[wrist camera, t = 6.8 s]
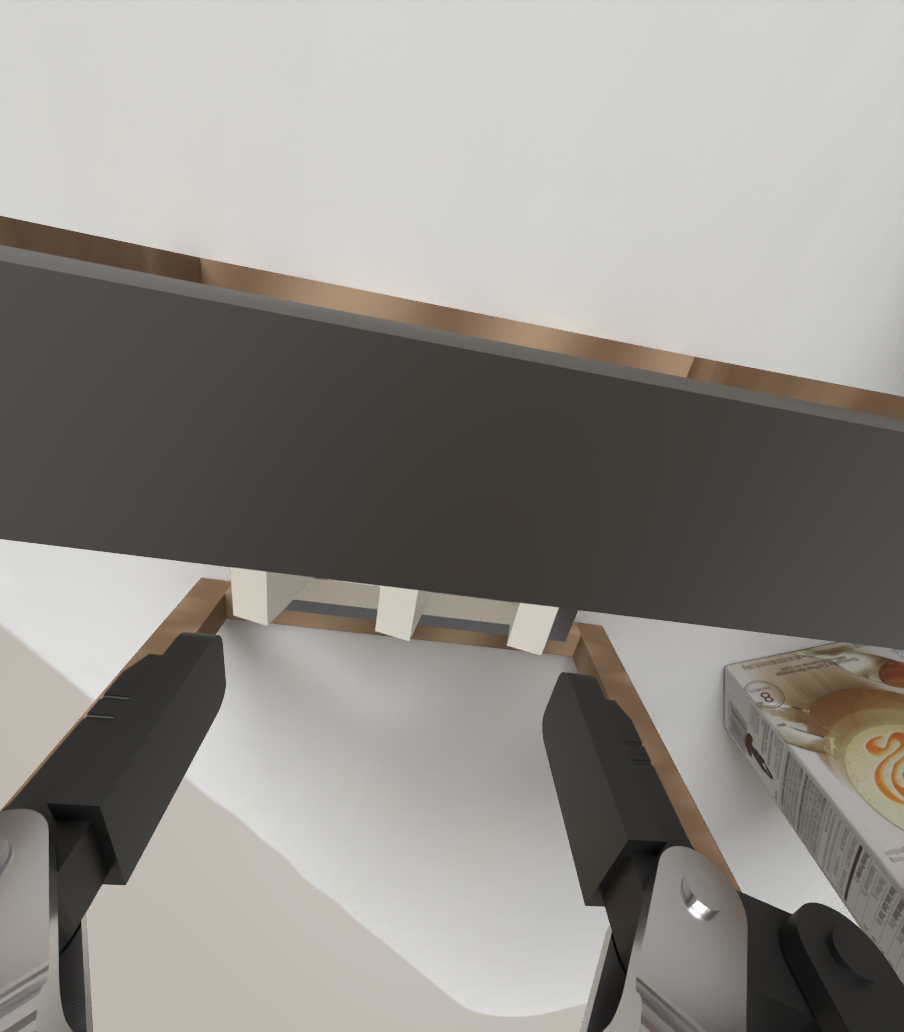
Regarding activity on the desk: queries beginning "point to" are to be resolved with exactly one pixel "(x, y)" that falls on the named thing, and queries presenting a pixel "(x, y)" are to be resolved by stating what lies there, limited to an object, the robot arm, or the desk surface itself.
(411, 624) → the block
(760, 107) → the desk surface
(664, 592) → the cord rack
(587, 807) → the robot arm
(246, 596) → the block
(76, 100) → the desk surface
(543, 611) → the breaker paddle
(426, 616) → the breaker panel
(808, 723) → the coffee box
